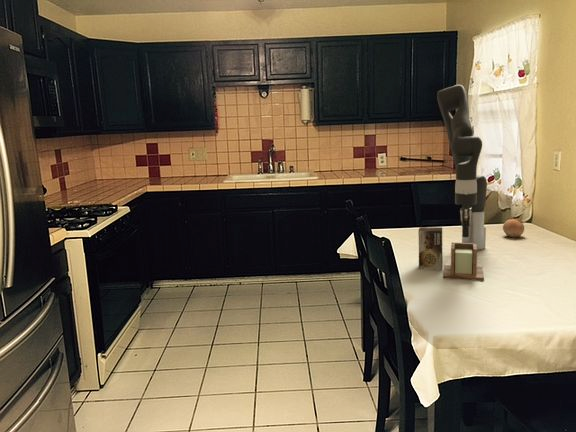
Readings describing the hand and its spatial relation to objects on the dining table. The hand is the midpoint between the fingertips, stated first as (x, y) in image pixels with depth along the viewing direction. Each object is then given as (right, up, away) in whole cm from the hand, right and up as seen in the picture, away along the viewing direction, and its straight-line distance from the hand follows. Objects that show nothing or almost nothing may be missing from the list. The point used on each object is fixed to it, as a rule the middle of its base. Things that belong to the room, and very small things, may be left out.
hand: (465, 236), depth 179 cm
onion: (+44, -3, +55) cm, 71 cm away
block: (0, -13, +3) cm, 14 cm away
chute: (0, -14, +3) cm, 15 cm away
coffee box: (-9, -13, +12) cm, 20 cm away
